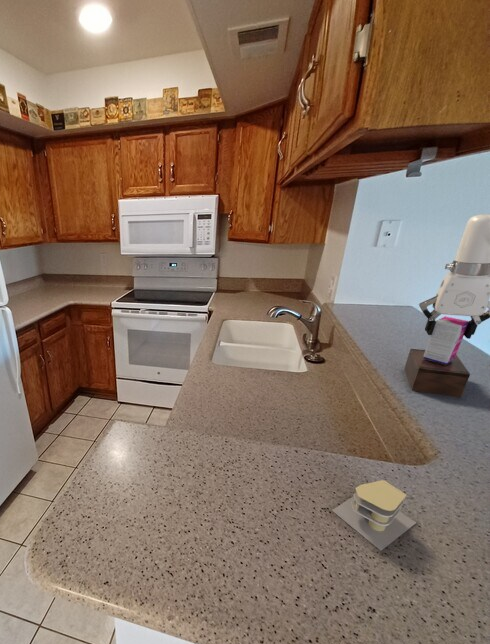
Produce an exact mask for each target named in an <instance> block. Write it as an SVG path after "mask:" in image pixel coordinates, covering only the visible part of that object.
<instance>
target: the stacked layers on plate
mask: <svg viewBox="0 0 490 644" xmlns="http://www.w3.org/2000/svg"><path fill="white" fill-rule="evenodd" d="M406 497H407V494H406V493H405V492H404V491H402V490H400V489H398V488H397V487H395V486H394V485H392V484H391V483H389V482H387V481H386V480H384V479H381V480H377V481H376V480H375V481H372V482H367V483H363V484H359V485H358V486H357V487H356V486H355V492H353V496H351V497H350V498H349V499H347V500H345V501H344V502H342V503H341V504H338V505H337V506H336V507H334V508H333V509H331V511H332V513H334V514H335V515H336V516H338V517H339V518H340V519H341V520H342V521H343V522H345V523H346V524H347V525H349V526H350V527H351V528H352V529H353V530H355V531H356V532H357V533H359V534H360V535H361V536H362V537H364V539H366V540H367V542H369V543H371V544H372V545H373V546H375V548H377V549H378V550H379V551H383V550H385V548H387V547H388V546H389V545H390V544H392V543H393V542H394V541H396V540H397V539H398V538H400V537H401V536H402V535H403V534H404V533H406V532H407V531H408V530H410V529H411V528H412V527H414V526H415V525H416V524H417V521H415V520H413V518H411V517H409V516H408V515H406V514H405V513H403V512H402V511H401V510H402V508H401V507H402V505H403V504H404V503H405V498H406Z"/></svg>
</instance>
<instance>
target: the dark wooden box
mask: <svg viewBox="0 0 490 644" xmlns="http://www.w3.org/2000/svg"><path fill="white" fill-rule="evenodd" d="M425 351H426V349H417V348H410V349H409V353H408V355H407V359H406V361H405V366H404V369H403V370H404V374H405V377H406V378H407V381H408V384H409V387H410V389H411V391H414V392H421V393H428V394H434V395H441V396H448V397H456V398H461V397H462V395H463V393H464V391H465V388H466V386H467V383H468V381H469V378H470V376H471V373H470V371H469V370H468V369H467V367H466V366H465V365H464V363H463V362H462V360H461V359H460V357H459V356H458V355H457V354H456V356H455V359H454V360H452V361H450V362H449V363H447V364H446V365H445V364H441V363H437V362H434V361H430V360H426V359H423V356H424V354H425Z"/></svg>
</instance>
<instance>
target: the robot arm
mask: <svg viewBox="0 0 490 644" xmlns="http://www.w3.org/2000/svg"><path fill="white" fill-rule="evenodd" d="M444 270H448V271H450V272H447V273H446V274H445V276H444V277H443V280H442V282H441V283H440V285H439V287H438V289H437V292H436V294H435V296H433V297H431V298H429V299H426V300H424V301H421V302H419V304H418V307H419V308H420V311H421V312H422V313H423V315H424V316H425V317H426V318H427V321H426V324H425V326H424V331H425V332H426V334H427V335H428V336H431V335H432V333H433V330H434V327H435V324H436V320H437V319H438V318H439V317H440V316H441V315H448V316H459V317H460V316H462V317H470V320H468V321H469V323H468V326H467V328H466V331H465V334H464V336H463V337H465V339H467V340H468V339H469V340H470V339H471V338H472V336H474V335H475V333H476V330H477V329H478V326H479V325H481V324H482V323H483V322H485V321H486V320H487V321H488V319H490V213H488V214H487V213H485V214H476V215H473V216H471V217H470V218H469V219H468V221H467V222H466V225H465V227H464V231H463V234H462V237H461V240H460V243H459V246H458V249H457V251H456V255H455V257H454V260H452V262H450V263H446V264H445V266H444ZM429 306H432V309H433V310H431V311H430V310H429V309H428V307H429ZM487 309H488V310H487ZM486 310H487V311H486Z"/></svg>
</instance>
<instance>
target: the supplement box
mask: <svg viewBox="0 0 490 644" xmlns="http://www.w3.org/2000/svg"><path fill="white" fill-rule="evenodd" d="M435 321H436V324H435V327H434V330H433V333H432V335H429V339H428V341H427V345H426V348H425V350H426V351H425V354H424V356H423V359H426V360H430V361H434V362H437V363H441V364H445V365H446V364H447V363H449V362H450V361H452V360H454V359H455V356H456V355H457V354H458V351H459V348H460V346H461V343H462V341H463V340H464V339H463V338H464V337H465V336H464V334H465V331H466V328H467V326H468V323H469V321H470V320H465V319H461V318H455V317H451V316H445V315H444V316H443V317H441V318H438V319H435Z"/></svg>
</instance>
